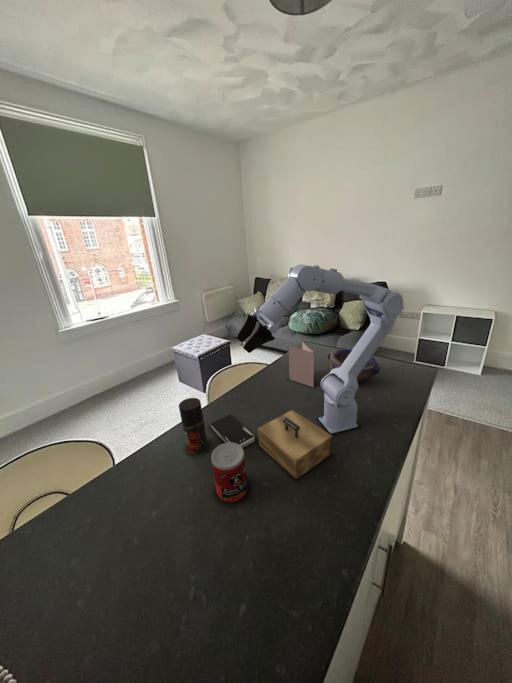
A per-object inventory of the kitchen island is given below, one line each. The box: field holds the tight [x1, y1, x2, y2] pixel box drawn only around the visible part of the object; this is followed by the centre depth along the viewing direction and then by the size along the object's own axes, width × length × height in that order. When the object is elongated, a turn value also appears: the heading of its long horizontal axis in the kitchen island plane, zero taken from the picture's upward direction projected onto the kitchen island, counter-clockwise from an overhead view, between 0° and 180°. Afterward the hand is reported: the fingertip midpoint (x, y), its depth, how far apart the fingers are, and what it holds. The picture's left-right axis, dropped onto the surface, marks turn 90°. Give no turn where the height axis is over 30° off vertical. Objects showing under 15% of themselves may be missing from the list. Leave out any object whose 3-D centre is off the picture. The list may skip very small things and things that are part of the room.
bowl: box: [327, 348, 381, 384], centre depth 112 cm, size 18×18×10 cm
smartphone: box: [210, 414, 256, 449], centre depth 87 cm, size 8×1×15 cm
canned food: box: [210, 442, 248, 504], centre depth 66 cm, size 8×8×11 cm
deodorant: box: [178, 397, 208, 455], centre depth 80 cm, size 6×6×15 cm
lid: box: [257, 409, 333, 463], centre depth 76 cm, size 13×16×5 cm
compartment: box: [257, 430, 331, 480], centre depth 78 cm, size 13×16×5 cm
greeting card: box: [288, 342, 316, 388], centre depth 111 cm, size 11×7×15 cm, turn 13°
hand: (242, 344), depth 70 cm, fingers open, 7 cm apart
